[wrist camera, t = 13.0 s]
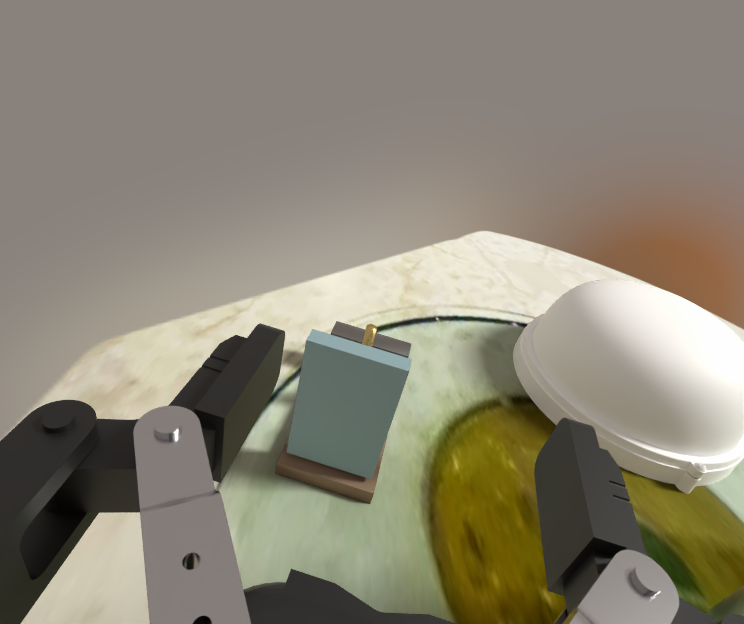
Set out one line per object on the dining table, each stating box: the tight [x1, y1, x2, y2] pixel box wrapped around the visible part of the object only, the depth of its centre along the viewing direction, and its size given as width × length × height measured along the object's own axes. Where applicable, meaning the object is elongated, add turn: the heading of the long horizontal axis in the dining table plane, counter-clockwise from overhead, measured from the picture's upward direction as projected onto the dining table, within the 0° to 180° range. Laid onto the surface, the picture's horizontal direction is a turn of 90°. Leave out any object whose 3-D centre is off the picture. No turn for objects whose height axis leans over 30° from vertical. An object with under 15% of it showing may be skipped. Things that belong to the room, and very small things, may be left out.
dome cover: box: [513, 280, 744, 493], centre depth 61 cm, size 32×30×14 cm
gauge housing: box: [275, 321, 411, 503], centre depth 48 cm, size 18×9×6 cm, turn 168°
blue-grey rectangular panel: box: [287, 329, 412, 480], centre depth 40 cm, size 4×8×13 cm, turn 78°
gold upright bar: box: [362, 324, 377, 347], centre depth 47 cm, size 2×3×8 cm, turn 78°
